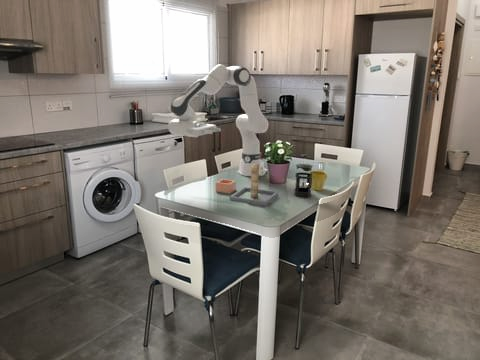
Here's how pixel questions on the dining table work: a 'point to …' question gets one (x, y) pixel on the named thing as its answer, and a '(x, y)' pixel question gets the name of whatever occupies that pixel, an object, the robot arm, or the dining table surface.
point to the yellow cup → (318, 179)
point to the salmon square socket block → (225, 186)
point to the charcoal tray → (262, 199)
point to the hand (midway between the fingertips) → (216, 131)
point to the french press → (300, 189)
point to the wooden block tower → (254, 180)
